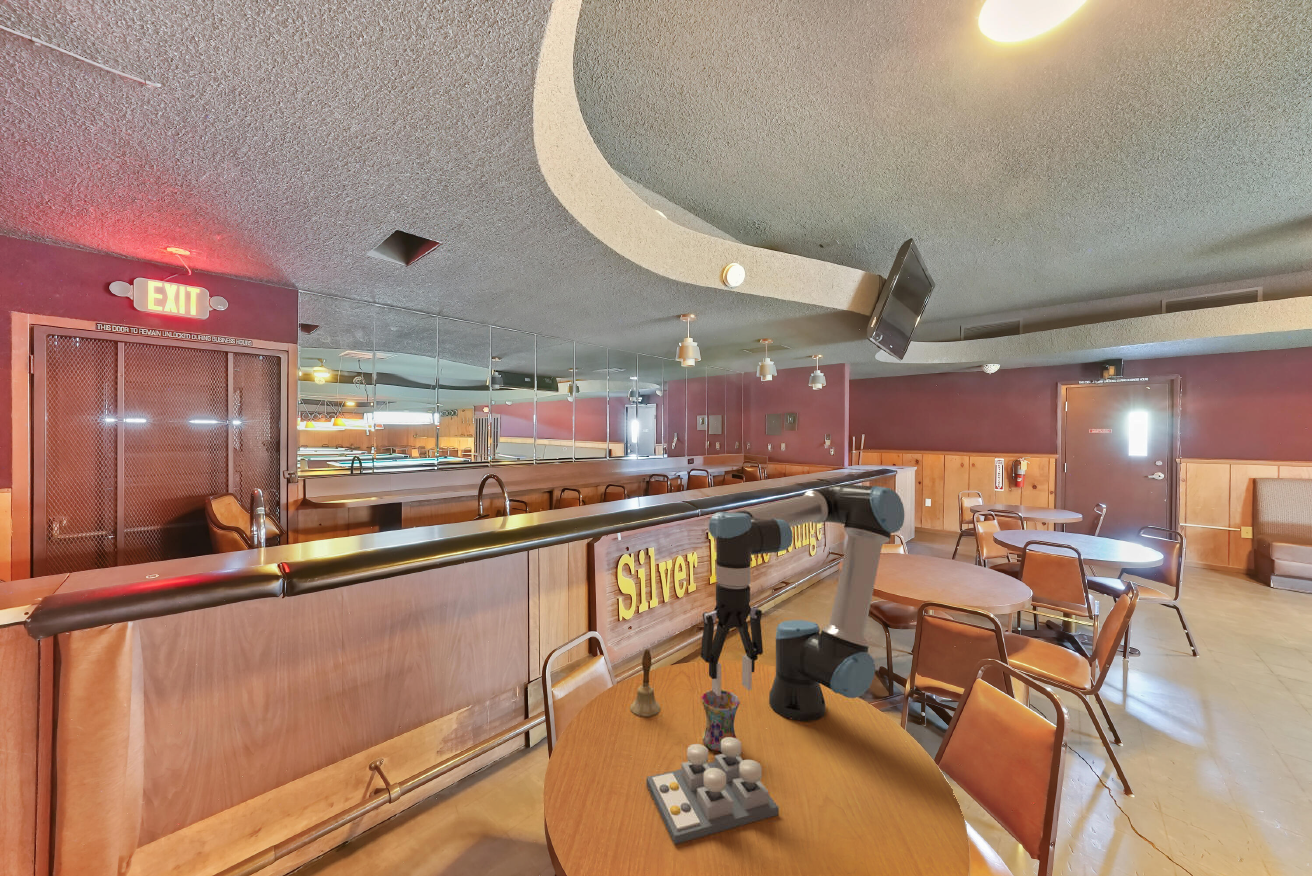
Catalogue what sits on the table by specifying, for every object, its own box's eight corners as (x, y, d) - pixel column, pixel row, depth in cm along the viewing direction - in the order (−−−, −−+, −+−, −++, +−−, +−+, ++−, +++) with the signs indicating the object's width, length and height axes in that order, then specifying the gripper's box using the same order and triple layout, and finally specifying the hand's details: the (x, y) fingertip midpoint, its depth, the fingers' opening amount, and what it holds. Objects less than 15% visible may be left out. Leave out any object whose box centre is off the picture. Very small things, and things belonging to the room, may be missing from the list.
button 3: (702, 760, 101) (702, 742, 101) (711, 773, 97) (711, 754, 97) (683, 764, 100) (684, 746, 100) (692, 778, 96) (692, 759, 96)
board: (737, 762, 106) (737, 745, 106) (778, 814, 91) (778, 794, 91) (646, 784, 99) (646, 766, 99) (674, 844, 84) (674, 822, 84)
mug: (741, 756, 108) (741, 710, 109) (701, 754, 109) (702, 708, 109) (735, 726, 120) (735, 685, 121) (699, 724, 121) (700, 683, 121)
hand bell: (642, 697, 134) (643, 641, 134) (666, 707, 129) (667, 648, 130) (624, 710, 127) (625, 651, 128) (648, 720, 122) (649, 659, 123)
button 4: (719, 785, 94) (719, 765, 94) (730, 801, 90) (730, 780, 90) (699, 790, 92) (699, 770, 92) (709, 806, 88) (709, 785, 88)
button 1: (734, 753, 104) (735, 735, 104) (744, 765, 100) (745, 747, 100) (717, 757, 102) (717, 739, 103) (726, 770, 98) (726, 751, 98)
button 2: (753, 776, 96) (754, 757, 97) (765, 791, 92) (765, 771, 92) (735, 781, 95) (735, 762, 95) (746, 796, 91) (746, 776, 91)
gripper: (762, 576, 109) (761, 675, 109) (685, 582, 103) (683, 688, 102) (781, 585, 102) (780, 691, 101) (699, 592, 96) (697, 706, 95)
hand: (731, 689), depth 102 cm, fingers open, 7 cm apart
